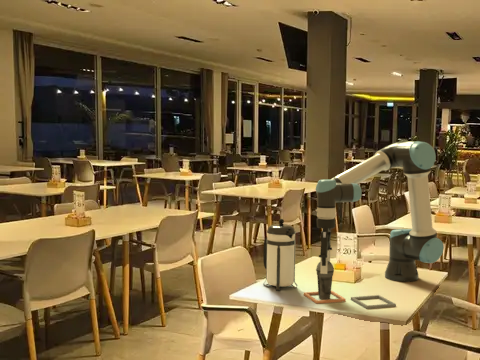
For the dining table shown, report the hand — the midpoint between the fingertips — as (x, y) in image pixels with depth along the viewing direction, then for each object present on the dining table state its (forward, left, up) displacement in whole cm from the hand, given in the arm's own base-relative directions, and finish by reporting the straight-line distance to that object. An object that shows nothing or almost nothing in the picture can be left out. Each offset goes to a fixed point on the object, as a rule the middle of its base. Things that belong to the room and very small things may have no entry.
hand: (325, 269), depth 229 cm
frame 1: (0, 0, -12) cm, 12 cm away
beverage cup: (0, 0, -12) cm, 12 cm away
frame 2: (-16, +11, -12) cm, 23 cm away
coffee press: (+12, -22, -12) cm, 28 cm away
